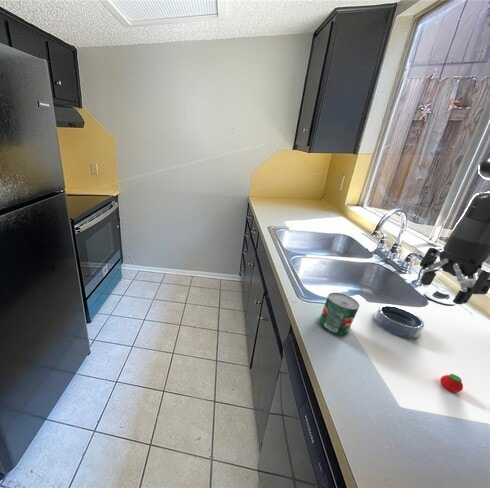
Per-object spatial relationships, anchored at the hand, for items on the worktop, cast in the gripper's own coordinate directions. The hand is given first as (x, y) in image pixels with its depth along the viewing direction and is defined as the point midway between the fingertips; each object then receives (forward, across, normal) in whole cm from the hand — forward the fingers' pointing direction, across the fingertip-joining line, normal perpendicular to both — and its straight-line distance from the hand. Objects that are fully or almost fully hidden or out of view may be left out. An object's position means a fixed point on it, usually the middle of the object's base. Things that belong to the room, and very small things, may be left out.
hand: (440, 293), depth 68 cm
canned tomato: (+18, +6, +20) cm, 28 cm away
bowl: (+18, +6, 0) cm, 19 cm away
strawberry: (+18, -15, +5) cm, 24 cm away
